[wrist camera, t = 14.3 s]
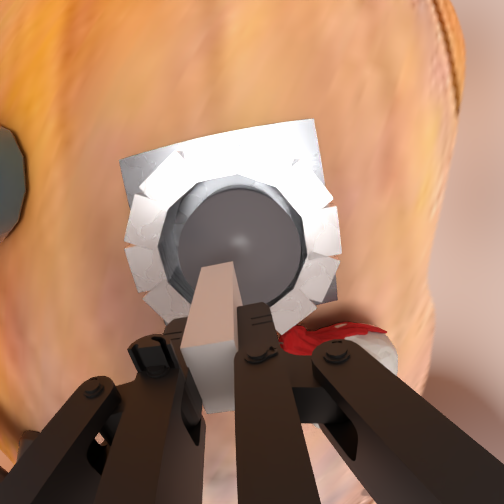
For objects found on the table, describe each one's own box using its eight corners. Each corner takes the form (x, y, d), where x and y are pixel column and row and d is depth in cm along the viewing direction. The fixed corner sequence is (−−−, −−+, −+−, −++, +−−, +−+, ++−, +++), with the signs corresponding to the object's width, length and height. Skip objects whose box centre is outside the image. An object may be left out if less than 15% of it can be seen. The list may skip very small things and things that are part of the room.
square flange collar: (169, 327, 27) (156, 364, 22) (122, 159, 23) (92, 161, 17) (335, 296, 27) (356, 328, 22) (311, 119, 22) (332, 108, 17)
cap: (201, 282, 25) (192, 316, 20) (184, 193, 23) (167, 203, 17) (290, 268, 25) (305, 299, 20) (279, 178, 23) (293, 183, 17)
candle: (350, 404, 31) (242, 355, 30) (411, 334, 29) (302, 269, 28) (365, 459, 23) (232, 414, 22) (447, 381, 20) (315, 310, 19)
